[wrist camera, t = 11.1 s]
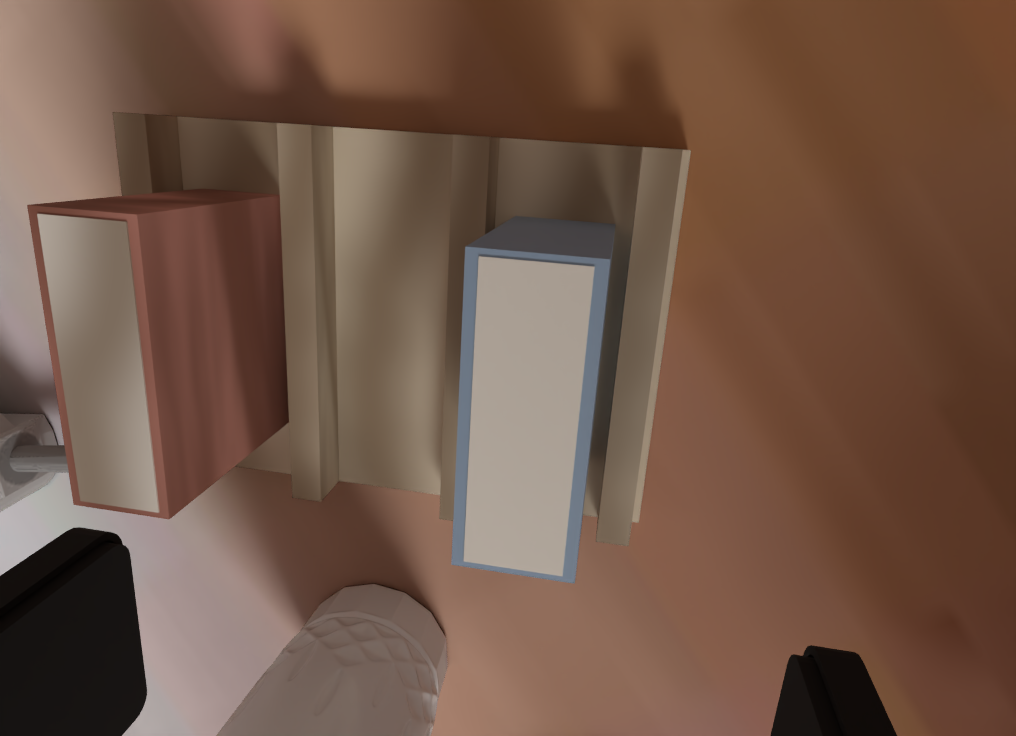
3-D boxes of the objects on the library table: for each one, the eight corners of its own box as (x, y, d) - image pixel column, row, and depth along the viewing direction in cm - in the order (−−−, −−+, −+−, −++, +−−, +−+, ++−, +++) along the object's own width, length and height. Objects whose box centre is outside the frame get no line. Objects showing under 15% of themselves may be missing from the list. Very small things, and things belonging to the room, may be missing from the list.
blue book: (615, 224, 24) (610, 259, 16) (589, 460, 26) (574, 584, 19) (515, 215, 24) (464, 246, 17) (500, 448, 27) (451, 565, 19)
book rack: (687, 150, 24) (723, 151, 15) (638, 507, 28) (643, 669, 19) (158, 115, 26) (-73, 99, 18) (188, 446, 31) (16, 563, 22)
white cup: (331, 715, 34) (219, 929, 25) (279, 581, 32) (137, 758, 23) (479, 704, 33) (420, 929, 23) (435, 561, 30) (350, 745, 21)
